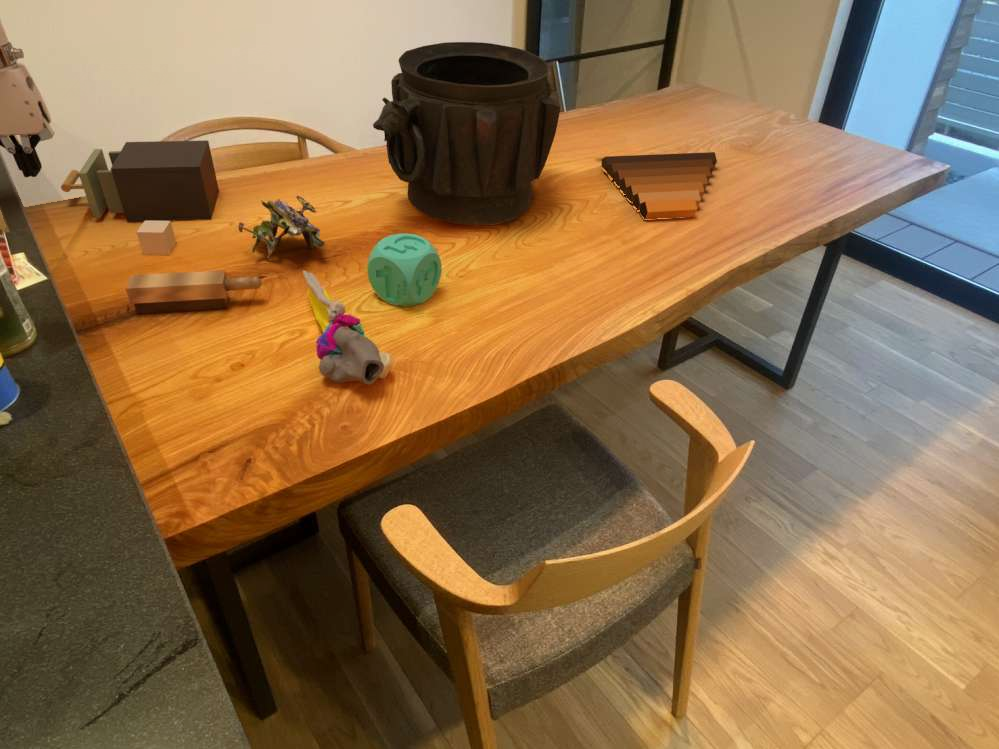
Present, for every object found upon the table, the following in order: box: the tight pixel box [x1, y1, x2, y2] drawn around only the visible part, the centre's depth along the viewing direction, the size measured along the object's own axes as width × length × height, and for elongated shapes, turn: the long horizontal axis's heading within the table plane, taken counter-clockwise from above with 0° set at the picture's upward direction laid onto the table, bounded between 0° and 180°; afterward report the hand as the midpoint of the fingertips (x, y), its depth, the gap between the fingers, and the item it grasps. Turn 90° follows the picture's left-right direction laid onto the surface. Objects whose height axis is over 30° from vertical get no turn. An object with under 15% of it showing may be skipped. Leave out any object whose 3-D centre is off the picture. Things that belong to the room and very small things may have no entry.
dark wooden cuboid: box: [110, 140, 220, 223], centre depth 120 cm, size 14×12×10 cm
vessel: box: [372, 41, 561, 226], centre depth 124 cm, size 31×32×25 cm
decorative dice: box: [366, 233, 443, 307], centre depth 103 cm, size 8×8×8 cm
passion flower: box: [238, 195, 326, 262], centre depth 110 cm, size 11×11×12 cm
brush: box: [125, 269, 263, 315], centre depth 99 cm, size 18×4×4 cm, turn 101°
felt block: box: [136, 220, 177, 256], centre depth 110 cm, size 4×4×4 cm
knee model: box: [302, 270, 394, 386], centre depth 93 cm, size 9×8×25 cm
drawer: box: [60, 148, 125, 218], centre depth 119 cm, size 17×10×8 cm, turn 101°
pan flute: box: [601, 151, 718, 219], centre depth 139 cm, size 25×3×25 cm
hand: (32, 173), depth 115 cm, fingers closed
